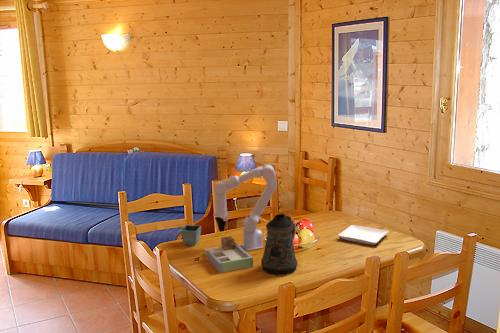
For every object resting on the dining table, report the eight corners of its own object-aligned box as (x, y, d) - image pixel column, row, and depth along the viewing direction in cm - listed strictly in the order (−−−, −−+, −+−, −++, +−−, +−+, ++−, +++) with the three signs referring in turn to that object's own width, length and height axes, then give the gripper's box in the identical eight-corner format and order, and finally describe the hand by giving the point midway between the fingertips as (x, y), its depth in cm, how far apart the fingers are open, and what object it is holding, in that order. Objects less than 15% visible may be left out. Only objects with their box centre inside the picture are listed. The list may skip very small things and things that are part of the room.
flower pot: (197, 247, 251) (196, 231, 249) (180, 246, 253) (180, 230, 251) (202, 241, 260) (201, 225, 258) (186, 240, 261) (185, 224, 260)
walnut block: (230, 245, 246) (230, 236, 245) (234, 248, 241) (234, 239, 240) (221, 247, 244) (221, 237, 243) (225, 250, 240) (224, 240, 239)
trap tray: (233, 248, 249) (232, 240, 248) (253, 266, 226) (252, 257, 225) (202, 254, 242) (202, 245, 241) (219, 272, 219) (219, 263, 219)
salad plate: (389, 236, 264) (389, 230, 263) (376, 248, 247) (376, 242, 246) (351, 229, 275) (351, 224, 275) (337, 241, 258) (337, 235, 257)
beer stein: (259, 275, 217) (258, 221, 212) (264, 258, 235) (263, 208, 230) (296, 276, 214) (296, 222, 209) (298, 259, 233) (298, 209, 228)
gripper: (208, 202, 250) (209, 227, 253) (218, 210, 237) (218, 236, 240) (221, 201, 253) (222, 226, 256) (231, 208, 240) (232, 234, 243)
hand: (221, 231), depth 248 cm, fingers closed
